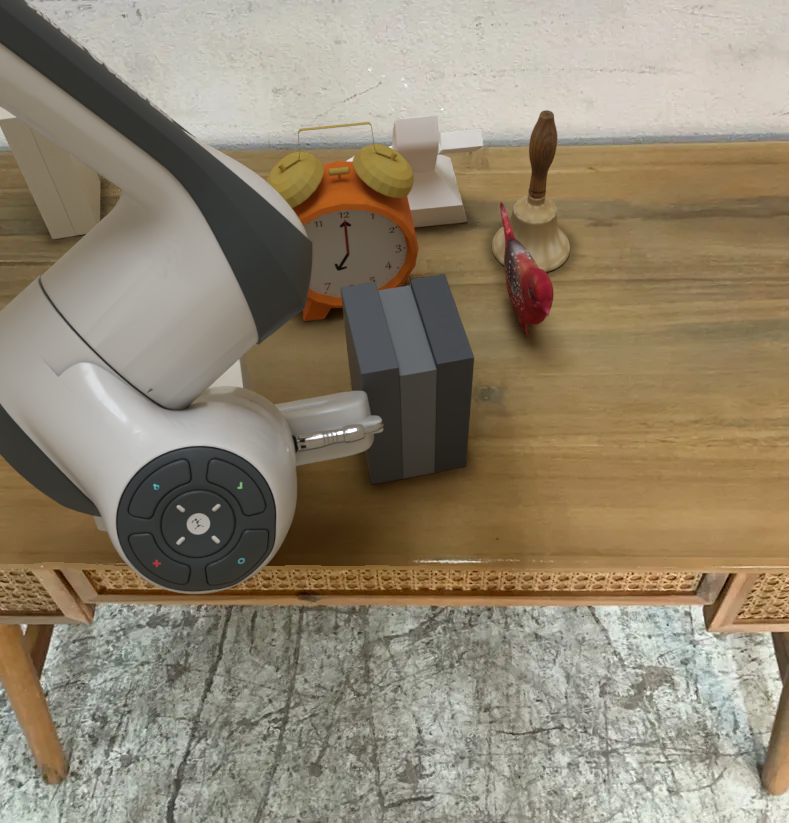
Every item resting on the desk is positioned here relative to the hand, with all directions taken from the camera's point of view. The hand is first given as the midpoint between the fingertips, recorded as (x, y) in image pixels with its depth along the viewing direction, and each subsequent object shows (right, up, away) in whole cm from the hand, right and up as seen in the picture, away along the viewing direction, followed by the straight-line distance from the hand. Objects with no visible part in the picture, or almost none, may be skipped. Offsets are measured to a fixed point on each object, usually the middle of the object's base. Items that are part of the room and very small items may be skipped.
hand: (237, 426), depth 66 cm
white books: (-24, +24, +29) cm, 45 cm away
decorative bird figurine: (+25, +12, +18) cm, 33 cm away
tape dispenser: (+14, +24, +28) cm, 39 cm away
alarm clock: (+8, +13, +20) cm, 25 cm away
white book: (0, -3, +8) cm, 8 cm away
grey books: (+14, -1, +9) cm, 16 cm away
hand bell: (+27, +19, +23) cm, 40 cm away
